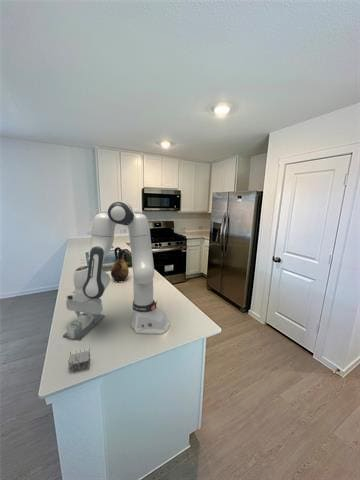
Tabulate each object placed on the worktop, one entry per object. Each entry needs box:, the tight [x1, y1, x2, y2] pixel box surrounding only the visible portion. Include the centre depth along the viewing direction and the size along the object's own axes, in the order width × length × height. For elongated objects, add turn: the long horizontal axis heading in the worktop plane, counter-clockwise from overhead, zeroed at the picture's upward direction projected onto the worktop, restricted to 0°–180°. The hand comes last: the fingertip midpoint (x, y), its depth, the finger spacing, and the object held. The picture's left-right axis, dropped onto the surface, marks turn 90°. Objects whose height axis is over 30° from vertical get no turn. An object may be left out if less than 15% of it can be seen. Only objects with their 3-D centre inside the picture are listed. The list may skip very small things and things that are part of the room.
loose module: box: [77, 312, 92, 328], centre depth 110 cm, size 4×6×6 cm, turn 169°
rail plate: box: [62, 312, 106, 341], centre depth 111 cm, size 10×23×6 cm, turn 169°
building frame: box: [67, 347, 91, 373], centre depth 84 cm, size 6×8×6 cm
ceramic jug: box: [110, 246, 130, 282], centre depth 176 cm, size 17×15×30 cm
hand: (85, 318), depth 110 cm, fingers open, 6 cm apart
